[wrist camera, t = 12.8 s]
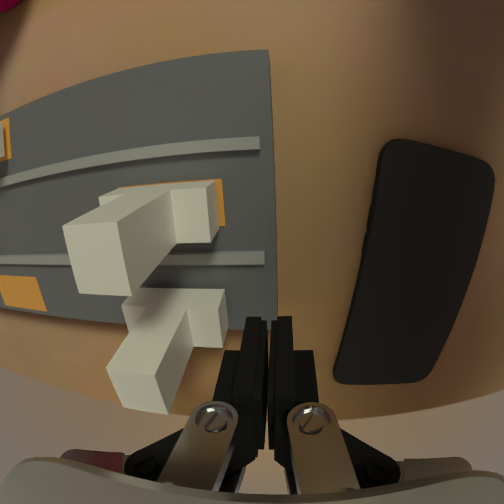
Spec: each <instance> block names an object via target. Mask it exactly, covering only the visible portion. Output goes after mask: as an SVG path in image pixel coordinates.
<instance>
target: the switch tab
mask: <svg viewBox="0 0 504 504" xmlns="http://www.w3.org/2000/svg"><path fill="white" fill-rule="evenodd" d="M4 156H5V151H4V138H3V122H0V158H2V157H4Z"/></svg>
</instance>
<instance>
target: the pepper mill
mask: <svg viewBox="0 0 504 504" xmlns="http://www.w3.org/2000/svg"><path fill="white" fill-rule="evenodd" d="M20 1H21V0H0V13H2V12H5V11H7V10H9V9H11V8H12V7H14V6H15V5H16V4H17V3H19V2H20Z"/></svg>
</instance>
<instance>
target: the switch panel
mask: <svg viewBox="0 0 504 504" xmlns="http://www.w3.org/2000/svg"><path fill="white" fill-rule="evenodd" d="M0 122H3V138H4V151H5V156H4V157H2V158H0V308H6V309H12V310H17V311H23V312H30V313H36V314H43V315H49V316H57V317H64V318H72V319H80V320H89V321H98V322H107V323H118V324H126V321H125V318H124V314H123V311H122V307H121V305H122V303H123V302H124V301H125V300H126V299H127V297H128V296H115V295H97V294H81V293H79V291H78V288H77V284H76V281H75V277H74V274H73V270H72V266H71V262H70V258H69V254H68V250H67V246H66V241H65V237H64V232H63V227H62V226H63V225H65V224H66V223H68V222H70V221H72V220H74V219H76V218H78V217H80V216H82V215H84V214H86V213H88V212H90V211H92V210H94V209H96V208H98V207H100V204H99V196H102V195H104V194H106V193H109V192H111V191H113V190H116V189H118V188H127V187H137V186H147V185H158V184H170V183H182V182H196V181H212V180H216V194H217V207H218V219H219V230H218V231H217V233H216V235H215V236H214V238H213V240H212V241H211V243H177V244H176V245H175V246H174V247H173V248H172V249H171V251H170V252H169V253H168V254H167V255H166V256H165V257H164V259H163V260H162V261H161V262H160V263H159V265H158V266H157V267H156V268H155V269H154V270H153V272H152V273H151V274H150V275H149V276H148V278H147V279H146V280H145V281H144V282H143V284H142V285H141V286H140V288H183V289H225V297H226V306H227V316H228V330H244V327H245V321H246V317H261V319H262V320H267V330H271V320H277V316H278V289H277V233H276V196H275V166H274V140H273V117H272V97H271V78H270V61H269V53H268V50H250V51H237V52H226V53H216V54H208V55H200V56H193V57H187V58H181V59H175V60H169V61H164V62H159V63H154V64H149V65H145V66H140V67H136V68H132V69H128V70H124V71H120V72H116V73H113V74H109V75H106V76H102V77H99V78H96V79H92V80H89V81H86V82H83V83H80V84H77V85H74V86H71V87H68V88H66V89H63V90H60V91H57V92H55V93H52V94H50V95H47V96H45V97H42V98H40V99H37V100H35V101H33V102H30V103H28V104H26V105H24V106H21V107H19V108H17V109H15V110H13V111H11V112H9V113H7V114H4V115H2V116H0Z"/></svg>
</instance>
